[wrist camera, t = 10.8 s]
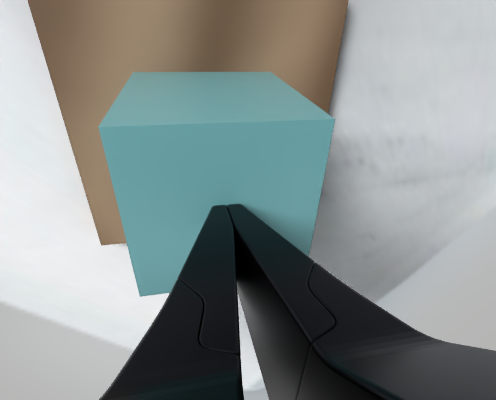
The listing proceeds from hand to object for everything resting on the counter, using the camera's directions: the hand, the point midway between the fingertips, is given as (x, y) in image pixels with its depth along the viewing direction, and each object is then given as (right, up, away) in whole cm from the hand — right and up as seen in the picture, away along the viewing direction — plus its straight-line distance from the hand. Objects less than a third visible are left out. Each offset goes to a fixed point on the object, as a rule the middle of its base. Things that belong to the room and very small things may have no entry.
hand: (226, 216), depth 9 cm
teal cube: (-1, +4, +5) cm, 7 cm away
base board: (-2, +4, +6) cm, 8 cm away
